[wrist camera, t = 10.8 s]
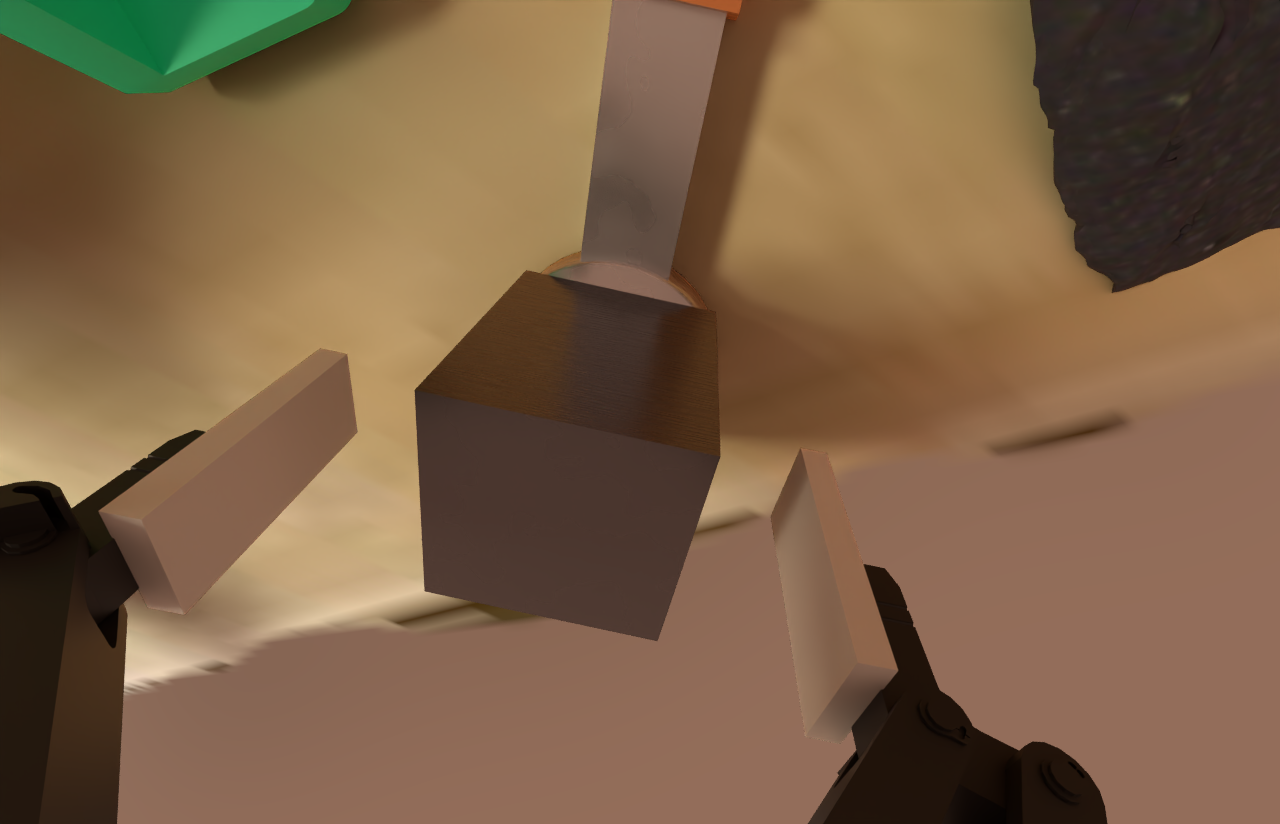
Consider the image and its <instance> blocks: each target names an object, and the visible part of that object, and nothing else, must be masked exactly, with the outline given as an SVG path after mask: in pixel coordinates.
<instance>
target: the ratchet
mask: <svg viewBox="0 0 1280 824" xmlns="http://www.w3.org/2000/svg"><path fill="white" fill-rule="evenodd" d="M741 3H742V0H613V1H612V9H611V17H610V25H609V33H608V41H607V50H606V58H605V66H604V74H603V82H602V90H601V98H600V106H599V114H598V122H597V130H596V138H595V147H594V155H593V163H592V171H591V179H590V187H589V195H588V203H587V211H586V219H585V227H584V236H583V244H582V251H581V252H577V253H573V254H571V255H569V256H566V257H564V258H562V259H560V260H558V261H557V262H555V263H553V264H552V265H550V266H549V267H548V268H546V269H545V270H544V271H543V272H541V274H546V275H550V276H555V277H559V278H564V279H568V280H573V281H578V282H582V283H587V284H591V285H596V286H600V287H605V288H609V289H614V290H618V291H623V292H628V293H632V294H637V295H641V296H646V297H650V298H655V299H659V300H664V301H668V302H673V303H678V304H682V305H687V306H691V307H696V308H700V309H705V310H708V309H707V307H706V306H705V304H704V302H703V300H702V298H701V297H700V296H699V294H698V293H697V292H696V290H695V289H694V287H693V286H692V285H691V284H690V283H689V282H688V281H687V280H686V279H685V278H684V277H683V276H682V275H680V274H679V273H678V272H677V271H675V270H674V269H673V268H671V267H672V262H673V257H674V253H675V248H676V244H677V239H678V235H679V230H680V225H681V221H682V216H683V212H684V207H685V203H686V198H687V193H688V189H689V184H690V180H691V175H692V171H693V166H694V161H695V157H696V152H697V148H698V143H699V139H700V134H701V129H702V125H703V120H704V116H705V111H706V107H707V102H708V97H709V93H710V88H711V84H712V79H713V75H714V70H715V65H716V61H717V56H718V52H719V47H720V43H721V38H722V33H723V29H724V24H725V20H726V19H731V20H736V19H737V17H738V15H739V12H740V8H741Z"/></svg>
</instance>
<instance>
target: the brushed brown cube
mask: <svg viewBox="0 0 1280 824" xmlns="http://www.w3.org/2000/svg"><path fill="white" fill-rule="evenodd" d="M415 406H416V426H417V446H418V466H419V486H420V507H421V527H422V547H423V567H424V587H425V591H426V592H431V593H435V594H440V595H445V596H449V597H454V598H459V599H463V600H468V601H473V602H477V603H482V604H487V605H491V606H496V607H501V608H505V609H510V610H515V611H519V612H524V613H529V614H533V615H538V616H543V617H547V618H552V619H557V620H561V621H566V622H571V623H575V624H580V625H585V626H589V627H594V628H599V629H603V630H608V631H613V632H618V633H623V634H627V635H631V636H636V637H641V638H645V639H650V640H655V641H657V640H658V638H659V635H660V632H661V629H662V626H663V623H664V621H665V617H666V615H667V612H668V609H669V606H670V603H671V600H672V597H673V594H674V591H675V588H676V585H677V582H678V579H679V577H680V574H681V571H682V568H683V565H684V561H685V559H686V556H687V553H688V550H689V547H690V544H691V541H692V538H693V535H694V532H695V530H696V527H697V524H698V521H699V518H700V515H701V512H702V509H703V506H704V503H705V500H706V497H707V494H708V491H709V488H710V485H711V483H712V480H713V477H714V474H715V471H716V468H717V465H718V462H719V459H720V429H719V397H718V364H717V332H716V312H714V311H709V310H705V309H700V308H696V307H691V306H687V305H682V304H678V303H673V302H668V301H664V300H659V299H655V298H650V297H646V296H641V295H637V294H632V293H628V292H623V291H618V290H614V289H609V288H605V287H600V286H596V285H591V284H587V283H582V282H578V281H573V280H568V279H564V278H559V277H555V276H550V275H546V274H541V273H537V272H532V271H528V270H526V271H525V272H524V273H523V275H522V276H521V277H520V278H519V279H518V280H517V281H516V282H515V283H514V284H513V285H512V286H511V287H510V288H509V290H508V291H507V292H506V293H505V294H504V295H503V296H502V297H501V298H500V299H499V300H498V301H497V302H496V303H495V305H494V306H493V307H492V308H491V309H490V310H489V311H488V312H487V313H486V314H485V315H484V316H483V317H482V318H481V320H480V321H479V322H478V323H477V324H476V325H475V326H474V327H473V328H472V329H471V330H470V331H469V332H468V333H467V335H466V336H465V337H464V338H463V339H462V340H461V341H460V342H459V343H458V344H457V345H456V346H455V347H454V349H453V350H452V351H451V352H450V353H449V354H448V355H447V356H446V357H445V358H444V359H443V360H442V361H441V362H440V364H439V365H438V366H437V367H436V368H435V369H434V370H433V371H432V372H431V373H430V374H429V375H428V376H427V377H426V379H425V380H424V381H423V382H422V383H421V384H420V385H419V386H418V387H417V388H416V389H415Z"/></svg>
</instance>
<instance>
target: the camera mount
mask: <svg viewBox="0 0 1280 824" xmlns="http://www.w3.org/2000/svg"><path fill="white" fill-rule="evenodd" d="M350 2H351V0H0V33H1V34H3V35H5V36H7V37H9V38H11V39H13V40H15V41H17V42H19V43H21V44H24V45H26V46H28V47H30V48H32V49H34V50H36V51H38V52H40V53H42V54H44V55H46V56H48V57H51V58H53V59H55V60H57V61H59V62H61V63H63V64H65V65H67V66H69V67H71V68H73V69H76V70H78V71H80V72H82V73H84V74H86V75H88V76H90V77H92V78H94V79H96V80H98V81H101V82H103V83H105V84H107V85H109V86H111V87H113V88H115V89H117V90H119V91H121V92H123V93H126V94H132V93H163V92H172V91H174V90H176V89H178V88H180V87H183V86H185V85H187V84H189V83H191V82H193V81H196V80H198V79H200V78H202V77H204V76H206V75H209V74H211V73H213V72H215V71H217V70H219V69H222V68H224V67H226V66H228V65H230V64H232V63H235V62H237V61H239V60H241V59H243V58H245V57H248V56H250V55H252V54H254V53H256V52H258V51H261V50H263V49H265V48H267V47H269V46H271V45H274V44H276V43H278V42H280V41H282V40H284V39H287V38H289V37H291V36H293V35H295V34H297V33H300V32H302V31H304V30H306V29H308V28H310V27H313V26H315V25H317V24H319V23H321V22H323V21H326V20H328V19H330V18H332V17H334V16H336V15H339V14H340V13H342V12H343V11H344V10H345V9H346V8H347V7H348V6H349V4H350Z"/></svg>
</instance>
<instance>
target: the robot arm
mask: <svg viewBox="0 0 1280 824" xmlns="http://www.w3.org/2000/svg"><path fill="white" fill-rule="evenodd" d="M356 433H357V425H356V418H355V410H354V403H353V395H352V387H351V380H350V372H349V365H348V357H347V354H345V353H340V352H335V351H330V350H326V349H321V348H320V349H319V350H317V351H316V352H315V353H313V354H312V355H310V356H309V357H308V358H306V359H305V360H304V361H302V362H301V363H300V364H298V365H297V366H295V367H294V368H293V369H291V370H290V371H289V372H287V373H286V374H285V375H283V376H282V377H280V378H279V379H278V380H276V381H275V382H274V383H272V384H271V385H270V386H268V387H267V388H265V389H264V390H263V391H261V392H260V393H259V394H257V395H256V396H255V397H253V398H252V399H250V400H249V401H248V402H246V403H245V404H244V405H242V406H241V407H240V408H238V409H237V410H235V411H234V412H233V413H231V414H230V415H229V416H227V417H226V418H225V419H223V420H222V421H220V422H219V423H218V424H216V425H215V426H214V427H212V428H211V429H210V430H208V431H207V432H204V431H199V430H194V431H191V432H189V433H186V434H184V435H182V436H179V437H177V438H174V439H172V440H169V441H168V442H166V443H165V444H163V445H162V446H160V447H159V448H158V449H156V450H155V451H153V452H152V453H150V454H149V455H148V458H147V459H146V458H143V459H142V460H140V461H139V462H138V463H136V464H135V465H133V466H132V467H131V470H126V471H125V472H123V473H122V474H120V475H119V476H117V477H116V478H115V479H113V480H112V481H110V482H109V483H107V484H106V485H105V486H103V487H102V488H100V489H99V490H97V491H96V492H95V493H93V494H92V495H90V496H89V497H87V498H86V499H85V500H83V501H82V502H80V503H79V504H77V505H76V506H75V507H73V508H72V509H71V507H70V505H69V503H68V501H67V500H66V498H65V496H64V494H63V492H62V490H61V489H60V487H58V486H56V485H54V484H52V483H50V482H42V481H27V482H17V483H12V484H8V485H4V486H0V824H117V813H118V793H119V772H120V753H121V732H122V713H123V693H124V673H125V653H126V633H127V612H126V608H125V606H124V604H123V603H124V602H125V601H126V600H127V599H128V598H129V597H130V596H131V595H132V594H134V593H135V592H136V591H137V590H139V592H140V594H141V596H142V598H143V600H144V602H145V604H146V606H147V608H152V609H157V610H162V611H167V612H172V613H177V614H182V615H185V614H186V613H187V612H188V611H189V610H190V609H191V608H192V607H193V606H194V604H195V603H196V602H197V601H198V600H199V599H200V598H201V597H202V596H203V595H204V594H205V593H206V592H207V591H208V590H209V589H210V588H211V587H212V585H213V584H214V583H215V582H216V581H217V580H218V579H219V578H220V577H221V576H222V575H223V574H224V573H225V572H226V571H227V570H228V569H229V567H230V566H231V565H232V564H233V563H234V562H235V561H236V560H237V559H238V558H239V557H240V556H241V555H242V554H243V553H244V552H245V551H246V550H247V548H248V547H249V546H250V545H251V544H252V543H253V542H254V541H255V540H256V539H257V538H258V537H259V536H260V535H261V534H262V533H263V532H264V530H265V529H266V528H267V527H268V526H269V525H270V524H271V523H272V522H273V521H274V520H275V519H276V518H277V517H278V516H279V515H280V514H281V513H282V511H283V510H284V509H285V508H286V507H287V506H288V505H289V504H290V503H291V502H292V501H293V500H294V499H295V498H296V497H297V496H298V495H299V493H300V492H301V491H302V490H303V489H304V488H305V487H306V486H307V485H308V484H309V483H310V482H311V481H312V480H313V479H314V478H315V477H316V476H317V474H318V473H319V472H320V471H321V470H322V469H323V468H324V467H325V466H326V465H327V464H328V463H329V462H330V461H331V460H332V459H333V458H334V456H335V455H336V454H337V453H338V452H339V451H340V450H341V449H342V448H343V447H344V446H345V445H346V444H347V443H348V442H349V441H350V440H351V439H352V437H353V436H354V435H355V434H356ZM771 522H772V528H773V535H774V541H775V547H776V554H777V560H778V566H779V573H780V579H781V586H782V592H783V599H784V605H785V611H786V618H787V624H788V630H789V637H790V643H791V649H792V656H793V661H794V668H795V675H796V681H797V688H798V694H799V700H800V707H801V713H802V719H803V726H804V732H805V737H809V738H814V739H819V740H824V741H829V742H835V743H839V744H841V742H842V741H843V740H844V739H845V737H846V736H847V735H848V734H849V732H850V731H851V730H852V732H853V736H854V741H855V745H856V751H855V752H854V754H853V755H852V756H851V757H850V758H849V760H848V761H847V762H846V763H845V765H844V766H843V767H842V768H841V770H839V772H838V774H839V776H838V778H837V780H836V781H835V782H834V784H833V785H832V787H831V789H830V790H829V792H828V793H827V795H826V796H825V798H824V799H823V801H822V803H821V804H820V806H819V807H818V809H817V810H816V812H815V813H814V815H813V817H812V818H811V820H810V821H809V823H808V824H1107V818H1106V811H1105V805H1104V803H1103V800H1102V796H1101V794H1100V791H1099V789H1098V788H1097V786H1096V785H1095V783H1094V782H1093V780H1092V778H1091V777H1090V775H1089V774H1088V773H1087V772H1086V771H1085V770H1084V769H1083V768H1082V767H1081V766H1080V765H1079V764H1078V763H1077V762H1076V761H1075V760H1074V759H1073V758H1071V757H1070V756H1069V755H1067V754H1066V753H1065V752H1063V751H1062V750H1060V749H1059V748H1057V747H1054V746H1052V745H1050V744H1047V743H1045V742H1031V743H1029V744H1028V745H1026V746H1024V747H1023V748H1022V749H1021V750H1017V749H1014V748H1013V747H1011V746H1008V745H1007V744H1005V743H1003V742H1001V741H999V740H997V739H995V738H993V737H991V736H989V735H987V734H985V733H983V732H981V731H979V730H978V729H976V728H974V727H973V726H972V723H971V722H970V720H969V718H968V717H967V715H966V714H965V712H964V711H963V709H962V708H961V707H960V706H959V705H958V704H957V703H956V702H955V701H954V700H953V699H952V698H951V697H949V696H948V695H946V694H945V693H943V692H941V691H940V690H939V688H938V685H937V683H936V680H935V678H934V675H933V673H932V670H931V667H930V665H929V662H928V659H927V657H926V654H925V652H924V649H923V647H922V644H921V641H920V639H919V636H918V634H917V631H916V628H915V627H913V621H912V618H911V615H910V613H909V611H907V605H906V602H905V600H904V597H903V595H902V592H901V589H900V587H899V586H898V584H897V583H896V582H895V581H894V579H893V578H892V577H891V576H890V574H889V573H888V572H887V571H886V569H885V568H880V567H875V566H871V565H866V564H863V562H862V559H861V556H860V553H859V550H858V547H857V544H856V541H855V538H854V535H853V532H852V529H851V525H850V522H849V519H848V516H847V513H846V510H845V507H844V504H843V501H842V498H841V495H840V492H839V489H838V486H837V483H836V480H835V477H834V474H833V471H832V468H831V465H830V462H829V459H828V456H827V453H824V452H819V451H814V450H809V449H804V448H800V450H799V453H798V455H797V457H796V460H795V462H794V464H793V466H792V469H791V471H790V473H789V476H788V478H787V480H786V482H785V485H784V487H783V489H782V492H781V494H780V496H779V499H778V501H777V503H776V505H775V508H774V510H773V512H772V515H771Z"/></svg>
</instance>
